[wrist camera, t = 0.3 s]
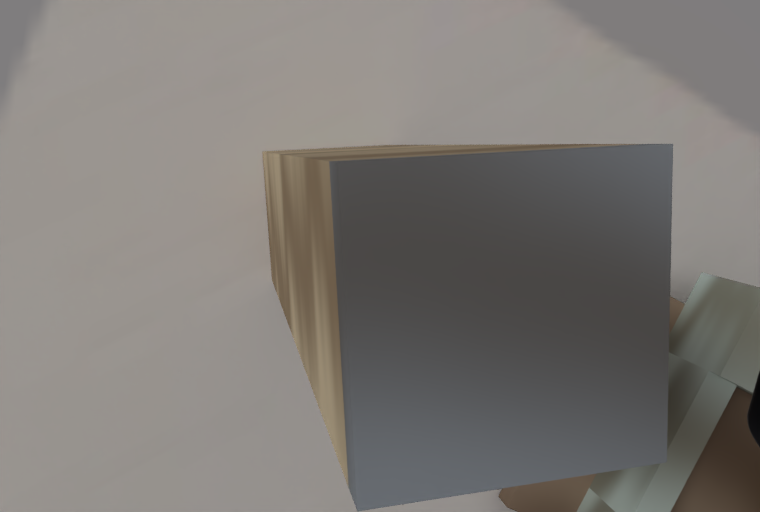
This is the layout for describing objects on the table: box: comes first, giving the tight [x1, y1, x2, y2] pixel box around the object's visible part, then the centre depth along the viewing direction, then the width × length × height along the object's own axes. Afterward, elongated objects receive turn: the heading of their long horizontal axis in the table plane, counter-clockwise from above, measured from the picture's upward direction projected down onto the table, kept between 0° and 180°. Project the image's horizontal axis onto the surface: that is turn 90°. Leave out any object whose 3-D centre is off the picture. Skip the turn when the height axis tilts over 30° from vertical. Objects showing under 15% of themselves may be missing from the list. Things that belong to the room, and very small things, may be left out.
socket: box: [499, 273, 760, 512], centre depth 25 cm, size 12×14×4 cm
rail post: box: [263, 144, 673, 511], centre depth 15 cm, size 4×4×15 cm
